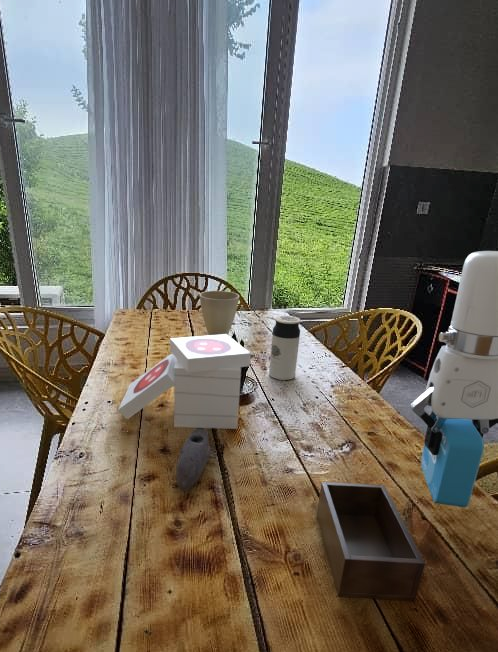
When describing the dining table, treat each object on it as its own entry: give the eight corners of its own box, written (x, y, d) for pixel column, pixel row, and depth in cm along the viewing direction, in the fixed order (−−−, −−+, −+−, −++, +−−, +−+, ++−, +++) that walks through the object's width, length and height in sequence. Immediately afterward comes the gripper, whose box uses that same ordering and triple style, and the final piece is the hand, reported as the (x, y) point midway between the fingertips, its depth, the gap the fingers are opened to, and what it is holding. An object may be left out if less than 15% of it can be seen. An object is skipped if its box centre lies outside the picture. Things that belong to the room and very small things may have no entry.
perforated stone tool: (194, 501, 79) (194, 468, 77) (166, 496, 80) (165, 463, 78) (213, 457, 93) (215, 427, 90) (189, 453, 94) (190, 424, 91)
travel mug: (287, 369, 141) (293, 314, 134) (299, 379, 134) (306, 321, 127) (264, 371, 138) (269, 315, 132) (275, 381, 131) (281, 323, 125)
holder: (377, 517, 77) (384, 485, 75) (414, 601, 61) (425, 563, 59) (316, 514, 77) (321, 481, 75) (338, 596, 62) (345, 559, 59)
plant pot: (197, 329, 178) (198, 290, 172) (233, 330, 179) (236, 290, 173) (199, 341, 164) (201, 299, 158) (239, 341, 166) (242, 299, 160)
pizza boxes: (131, 394, 119) (129, 330, 113) (243, 398, 120) (247, 334, 113) (116, 429, 102) (112, 355, 95) (247, 434, 102) (252, 361, 95)
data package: (419, 464, 78) (432, 403, 74) (447, 467, 77) (462, 406, 73) (435, 507, 67) (451, 438, 63) (467, 512, 67) (486, 442, 62)
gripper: (426, 348, 60) (403, 462, 67) (555, 351, 59) (519, 466, 66) (406, 332, 67) (387, 437, 74) (521, 335, 66) (492, 440, 73)
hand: (450, 450), depth 70 cm, fingers closed on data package, 5 cm apart
